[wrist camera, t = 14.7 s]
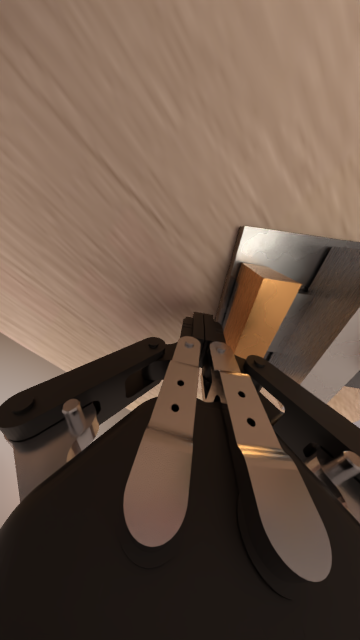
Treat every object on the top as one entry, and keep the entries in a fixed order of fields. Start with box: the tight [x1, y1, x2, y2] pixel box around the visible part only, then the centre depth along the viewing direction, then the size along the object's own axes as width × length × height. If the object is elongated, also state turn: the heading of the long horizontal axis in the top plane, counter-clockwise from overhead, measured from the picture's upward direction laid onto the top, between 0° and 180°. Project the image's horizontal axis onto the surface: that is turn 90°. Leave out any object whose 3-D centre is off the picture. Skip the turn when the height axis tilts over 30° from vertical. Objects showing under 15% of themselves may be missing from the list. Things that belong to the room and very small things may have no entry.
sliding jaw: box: [222, 247, 360, 410], centre depth 13 cm, size 9×13×5 cm
